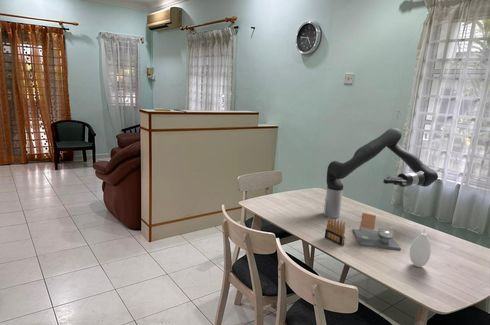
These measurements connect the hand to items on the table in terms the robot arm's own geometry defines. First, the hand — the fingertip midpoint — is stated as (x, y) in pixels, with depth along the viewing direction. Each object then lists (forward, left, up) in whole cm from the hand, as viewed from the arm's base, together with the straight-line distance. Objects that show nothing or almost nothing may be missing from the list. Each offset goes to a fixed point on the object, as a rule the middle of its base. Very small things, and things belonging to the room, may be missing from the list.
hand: (384, 181), depth 175 cm
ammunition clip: (-26, -20, -28) cm, 44 cm away
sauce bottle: (+8, -36, -28) cm, 47 cm away
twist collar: (-5, -16, -24) cm, 29 cm away
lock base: (-4, -14, -28) cm, 31 cm away
